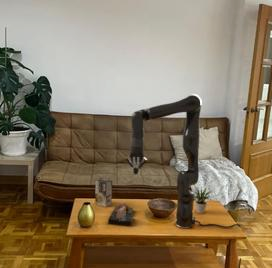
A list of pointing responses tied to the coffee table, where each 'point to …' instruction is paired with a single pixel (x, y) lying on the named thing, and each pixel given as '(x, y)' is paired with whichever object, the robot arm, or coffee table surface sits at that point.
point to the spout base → (121, 220)
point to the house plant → (201, 201)
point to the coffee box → (103, 192)
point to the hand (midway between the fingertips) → (135, 173)
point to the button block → (128, 209)
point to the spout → (121, 212)
